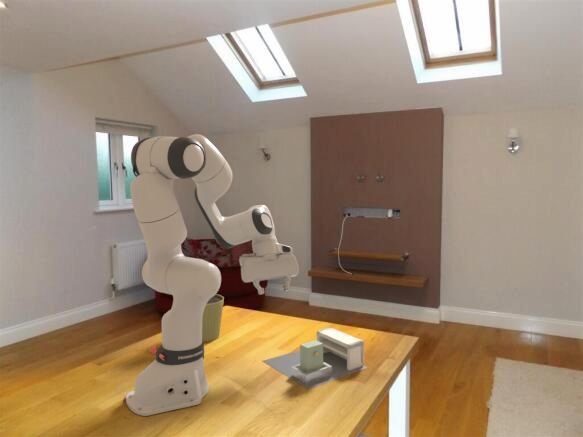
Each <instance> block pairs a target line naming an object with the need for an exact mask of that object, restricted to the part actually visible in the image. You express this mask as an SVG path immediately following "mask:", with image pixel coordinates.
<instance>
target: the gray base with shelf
mask: <svg viewBox="0 0 583 437" xmlns="http://www.w3.org/2000/svg"><path fill="white" fill-rule="evenodd" d="M316 340H317V341H319V342H321V343H323V362H325V363H327V364H329V365H331V366H332V376H330V377H327V378H324V379H322V380H319V381H316V382H313V383H310V384H307V385H305V384H303V383H301V382H300V381H298V380H296V379H295V378H293V377H291V367H292V366H295V365H298V364H300V349H298V350H295V351H291V352H288V353H285V354H282V355H278V356H275V357H272V358H268V359H264V360H262V363H264V364H266V365H268V366H269V367H270V368H272V369H274V370H276V371H277V372H279V373H281V374H283V375H284V376H285V377H287V378H289V379H291V380H292V381H294V382H295V383H297V384H299V385H301V386H302V387H303V388H306V389H307V390H311V389H314V388H316V387H319V386H322V385H325V384H328V383H331V382H333V381H336V380H339V379H341V378H343V377H346V376H350V375H352V374H354V373H358V372H360V371H363V370H366V369H368V368H369V367H367V366H365V365H364V360H365V359H364V354H365V350H364V348H365V341H364V340H362V339H360V338H358V337H356V336H355V337H354V336H352V335H351V334H347V333H346V332H342V331H341V330H338V329H335V328H332V327H326V328H322V329H319V330H316Z"/></svg>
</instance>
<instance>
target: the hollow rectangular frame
mask: <svg viewBox="0 0 583 437" xmlns="http://www.w3.org/2000/svg"><path fill="white" fill-rule="evenodd" d="M330 376H332V366H331V365H329V364H327V363H325V362H323V368H321V369H318V370H315V371H312V372H309V373H305V372H303V371H301V370H300V364H298V365H295V366H292V367H291V377H293V378H295V379H296V380H298V381H300V382H301V383H303V384H305V385H307V384H310V383H313V382H316V381H319V380H322V379H324V378H327V377H330Z"/></svg>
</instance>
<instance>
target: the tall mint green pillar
mask: <svg viewBox="0 0 583 437" xmlns="http://www.w3.org/2000/svg"><path fill="white" fill-rule="evenodd" d="M299 350H300V370H301V371H303V372H305V373H309V372H312V371H315V370H318V369H321V368H323V343H321V342H319V341H317V339H315V340H311V341H308V342H307V341H306V342H304V343H301V344H300V345H299Z"/></svg>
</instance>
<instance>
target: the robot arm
mask: <svg viewBox="0 0 583 437" xmlns="http://www.w3.org/2000/svg"><path fill="white" fill-rule="evenodd" d="M130 162H131V167H132V173H133V175H134V176H135V177H134V178H133V179H132V181H131V182H130V186H129V190H130V197H131V202H132V206H133V211H134V213H135V217H136V220H137V223H138V225H139V227H140V231H141V234H142V236H143V239H144V242H145V246H146V252H147V253H146V254H147V255H146V256H147V259H146V261H145V262H144V264H143V266H142V269H141V276H142V280H143V283H145V285H146V286H148V287H149V288H151V289H153V290H154V291H156V292H158V293H162V294H163V293H164V294H167V295H172V297H173V300H172V305H171V309H169V310H168V311H167V312H166V313H164V314H163V315H162V318H161V344H160V345H159V347H157V346H156V345H152V346H150V348H149V350H148V351H149V353H151V354H152V355H154V356H155V358H154V359H153V361H152V362H151V363H150V364H149V365H148V366H147V367H146V368H145V369H143V370H142V371H141V372H140V373H138V375H137V376H136V379H135V382H134V389H133V390H131V391H129V392H127V393H126V397H125V402H126V406H127V407H128V408H129V409H130V411H131V412H133V413H135V414H136V415H138V416H142V417H148V416H152V415H156V414H161V413H165V412H170V411H175V410H178V409H180V410H181V409H184V408H189V407H192V406H197V405H199V404H201V403H202V401H203V398H204V397H205V396H206V395H207V394H208V393H209V390H210V386H209V385H208V384H209V383H208V381H207V377H206V372H205V367H204V366H205V364H204V359H205V342H203V340H202V318H203V312H204V309H205V306H206V304H207V302H208V301H209V300H210V299H211V298H212V297H213V296H214V295H215V294H217V293H218V292H219V289H220V287H221V283H222V274H221V271H220V269H219V268H218V266H216V264H214V263H211V262H210V261H209V262H207V261H208V260H207V261H205V260H206V259H202V258H195V257H191V256H190V257H189V256H186V255H185V254H184V253H183V250H182V244H183V243H184V241H185V240H186V238H187V236H188V229H187V226H186V223H185V221H184V220H185V219H184V217H183V215H182V211H181V208H180V205H179V202H178V200H177V197H176V195H175V193H174V181H175V180H177V179H179V180H180V179H183V180H184V179H185V180H186V179H190V178H191V179H192V181H193V182H194V183H195V185H196V187H195V188H194V198H195V202H196V203H197V206H198V208H199V210H200V211H201V214H202V215H203V217H204V219H205V220H206V222H207V224H208V226H209V228H210V229H211V232H212V235H213V237H214V241H216V243H217V244H218V245H219V246H221V247H222V248H225V249H231V248H234V247H237V246H238V245H240V244H243V243H247V242H250V241H251V247H252V253H244V254H243V253H242V255H240V256H239V259H238V262H239V266H240V276H241V281H242V282H243V283H251V282H252V283H253V286H254V288H255V289H257V294H258V295H264V294H265V292H266V291H265V288H264V287H261V285H260V282H262V281H269V280H270V281H271V280H278V279H283V280H284V282H285V284H284V285H283V286H282V287H283V291H284V292H288V291H290V290H291V287H290V284H291V281H292V278H294V277H297V276H298V275H299V274H300V269H299V268H300V267H299V264H298V260H297V258H296V256H295V255H294V254H293V252H294V249H293V247H292V246H288V245H286V244H282V243H279V242H278V239H277V237H276V228H275V223H274V220H273V216H272V214H271V211H270V209H269V207H267V205H264V204H255V205H252V206H250V207H249V208H248V209H247V210H245V211H242V212H240V213H236V214H233V215H230V216H223V215H222V214H221V212H220V209H219V208H218V206H217V204H216V202H217V201H218V200H219V199H220V198H221V197H223V196H224V195H225V194H226V193H227V192H228V190H229V189H230V187H231V185H232V182H233V170H232V168H231V165H230V164H229V163H228V161H227V160H226V159H225V157H224V156H223V154H222V153H221V152H220V151H219V149H218V148H217V147H216V146H215V145H214V143H212V142H211V141H210V140H209V139H208V138H207V137H206V136H204V135H202V134H198V133H197V134H190V135H188V136H170V135H164V136H163V135H161V136H155V137H146V138H143V139H141V140H139V141H137V142H136V143H135V144H134V145H133V146H132V149H131V153H130Z"/></svg>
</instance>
